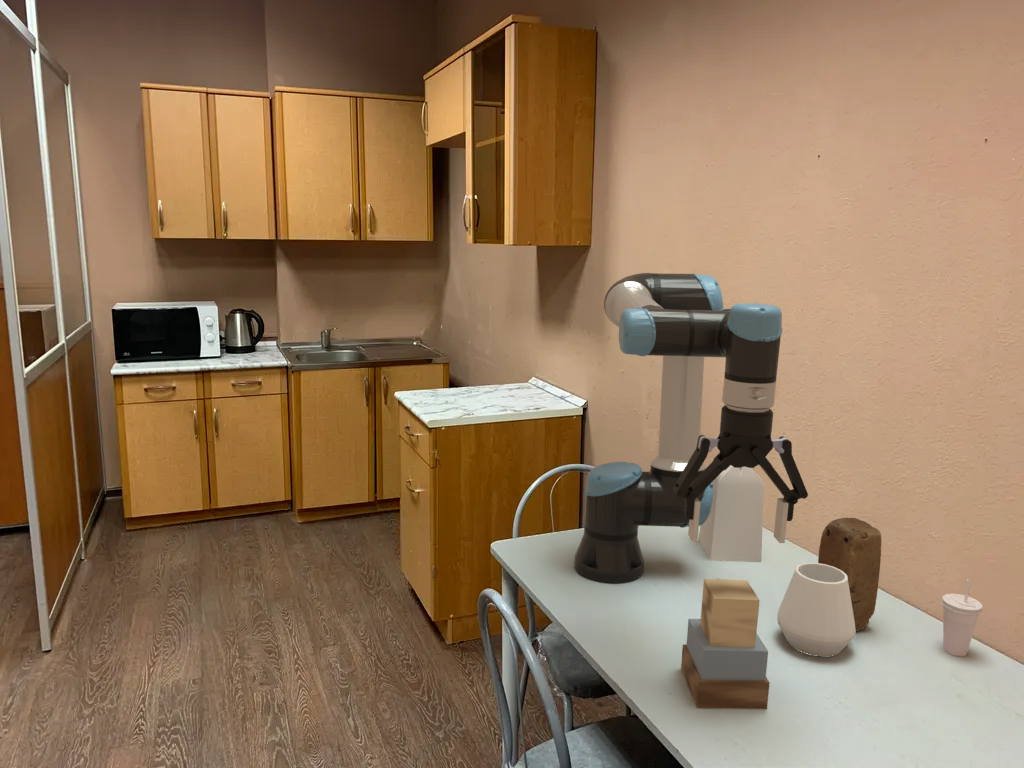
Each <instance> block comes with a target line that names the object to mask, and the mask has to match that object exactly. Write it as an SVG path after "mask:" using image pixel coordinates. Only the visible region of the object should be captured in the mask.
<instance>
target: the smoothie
mask: <svg viewBox="0 0 1024 768" xmlns="http://www.w3.org/2000/svg"><path fill="white" fill-rule="evenodd" d="M970 585H971V579H968V578H967V579H966V584H965V590H964V591H965V592H964V594H958V593H947V594H944V595H942V598H941V601H940V602H941V604H942V612H943V614H942V621H943V623H942V625H943V627H942V629H943V630H942V631H943V632H942V634H943V635H942V639H943V643H942V644H943V651H944V652H945V653H947V654H949V655H951V656H955V657H966V656H967V654H968V651H969V649H970V645H971V642H972V640H973V639H972V638H973V635H974V632H975V629H976V626H977V622H978V620H979V616H980V614H982V613H983V607H984V606H983V604H982V602H980V601H979V600H977V599H975V598H973V597H972V596H969V592H970V587H971V586H970Z"/></svg>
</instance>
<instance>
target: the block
mask: <svg viewBox="0 0 1024 768" xmlns="http://www.w3.org/2000/svg"><path fill="white" fill-rule="evenodd" d="M881 534H882V533H881V531H880V530H879V529H878V528H876V527H874V526H872V525H871V524H870V523H868V522H867V521H864V520H861V519H859V518H856V517H840V518H836V519H834V520H831V521H830V522H828V523H827V525H826V526H825V528H824V529H823V531H822V533H821V536H820V537H821V538H820V543H819V547H818V562H817V563H820V564H826V565H829V566H833V567H835V568H837V569H839V570H841V571H843V572H844V573H845V574H846V575H847V577H848V584H849V590H850V596H851V603H852V609H853V615H854V621H855V629H856V632H857V631H861V630H864V628H865V627H867V626H868V625H869V624H870V619H871V618H872V616H873V615H874V614H875V610H876V603H877V598H878V592H879V591H878V589H879V579H880V574H881V573H880V572H881V557H882V535H881Z"/></svg>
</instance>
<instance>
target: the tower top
mask: <svg viewBox="0 0 1024 768" xmlns="http://www.w3.org/2000/svg"><path fill="white" fill-rule="evenodd" d="M700 621H701V618H688V620H687V634H686V644H685V645H686V646H687V648H688V651H689V653H690V655H691V657H692V659H693V662H694V664H695V666H696V668H697V671H698V673H699V675H700V677H701V679H702V680H755V681H765V680H766V677H767V669H768V658H769V657H768V656H769V650H768V649H767V647H766V645H765V644H764V643H763V641H762V639H761V638H760V636H759V635H758V633H756V643H755V648H752V647H723V646H710V645H709V642H708V640H707V638H706V636H705V633H704V631H703V629H702V627H701V624H700Z"/></svg>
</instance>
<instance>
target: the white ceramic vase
mask: <svg viewBox="0 0 1024 768" xmlns="http://www.w3.org/2000/svg"><path fill="white" fill-rule="evenodd" d="M787 585H788V586H787V588H786V591H785V593H784V595H783V598H782V601H781V603H780V605H779V608H778V611H777V619H776V620H777V624H778V625H779V628H780V630H781V631H782V634H783V636H784V638H785V639H786V642H787V643H788V642H789V643H788V644H789V646H790V647H792V646H793V647H794V648H793V647H792V648H793V649H795V648H796V649H797V650H796V649H795V650H796V651H798V650H799V651H798V652H800V651H802V652H805V653H808V654H811V655H810V656H812V655H817V656H831V657H833V656H832V655H835V656H837V655H838V654H839V653H840V652H841V651H842V650H844V648H845V647H847V646H848V644H850V643H851V641H853V639H854V638H855V636H856V634H857V631H856V629H855V621H854V615H853V609H852V603H851V596H850V590H849V584H848V577H847V575H846V574H845V573H844V572H843V571H841V570H839V569H837V568H835V567H833V566H829V565H826V564H820V563H818V562H805V563H800V564H798V565H797V566H796V567H795V569H794V572H793V573H792V575H791V578H790V581H789V584H787ZM802 652H801V653H802ZM805 653H804V654H805ZM817 656H816V657H817Z"/></svg>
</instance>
